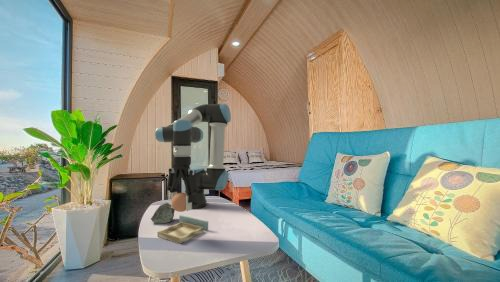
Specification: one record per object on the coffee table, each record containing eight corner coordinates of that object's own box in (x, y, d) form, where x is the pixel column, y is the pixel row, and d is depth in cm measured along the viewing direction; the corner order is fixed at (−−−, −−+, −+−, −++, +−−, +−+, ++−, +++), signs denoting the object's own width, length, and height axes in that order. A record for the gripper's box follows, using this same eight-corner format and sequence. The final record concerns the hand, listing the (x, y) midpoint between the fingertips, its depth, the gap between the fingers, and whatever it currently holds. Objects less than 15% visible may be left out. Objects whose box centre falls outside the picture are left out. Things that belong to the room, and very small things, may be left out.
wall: (180, 223, 107) (180, 215, 107) (208, 230, 99) (208, 221, 99) (179, 224, 106) (179, 215, 106) (206, 231, 98) (206, 222, 98)
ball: (181, 207, 100) (181, 190, 100) (194, 210, 96) (194, 192, 96) (167, 212, 93) (167, 193, 93) (180, 215, 89) (181, 195, 89)
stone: (160, 203, 105) (171, 198, 115) (146, 216, 106) (158, 209, 116) (172, 219, 104) (182, 212, 114) (157, 232, 105) (169, 224, 115)
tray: (181, 226, 103) (181, 221, 103) (203, 231, 97) (203, 227, 97) (157, 236, 92) (157, 231, 92) (180, 243, 85) (180, 238, 85)
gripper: (158, 155, 96) (157, 207, 96) (194, 157, 86) (193, 214, 86) (171, 154, 103) (171, 203, 103) (206, 156, 93) (205, 210, 93)
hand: (181, 208), depth 94 cm, fingers closed on ball, 8 cm apart
